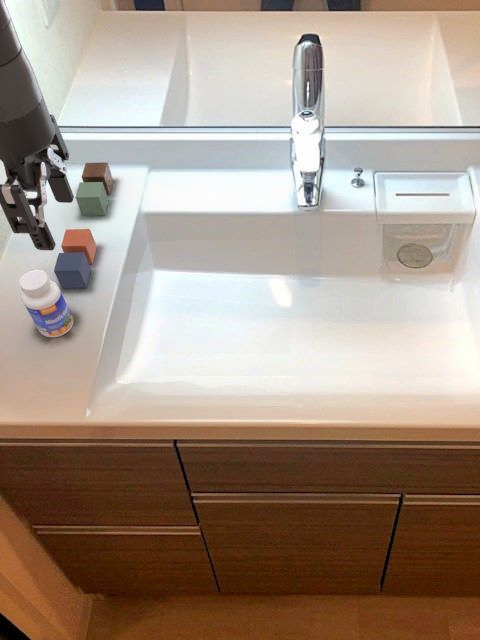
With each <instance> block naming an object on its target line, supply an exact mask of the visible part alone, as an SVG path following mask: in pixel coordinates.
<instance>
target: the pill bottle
mask: <svg viewBox="0 0 480 640" xmlns="http://www.w3.org/2000/svg"><path fill="white" fill-rule="evenodd" d="M18 283H19V287H20V290H21V291H22V292H21V300H22V303H23V305H24V307H25V309H26V310H27V312H28V314H29V316H30V317H31V319H32V321H33V323H34V325H35V327H36V328H37V330H38V331H39V334H41V335H42V336H43V337H46V338H59V337H62V336H64V335H66V334H67V333H68V332H70V330H71V329H72V327H73V326H74V317H73V314H72V312H71V310H70V308H69V305H68V304H67V302H66V299H65V298H64V295H63V293H62V291H61V289H60V287H59V286H58V284H57V283H56V282H55V281H53V280H51V279H50V276H48V274H47V272H45V271H44V270H42V269H33V270H29V271H27V272H25V273H24V274H22V276H20V278H19V281H18Z"/></svg>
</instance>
